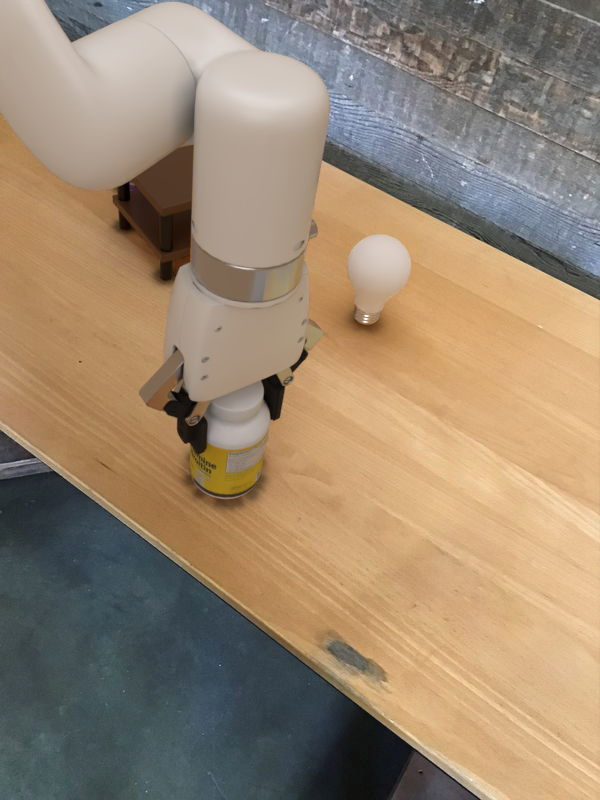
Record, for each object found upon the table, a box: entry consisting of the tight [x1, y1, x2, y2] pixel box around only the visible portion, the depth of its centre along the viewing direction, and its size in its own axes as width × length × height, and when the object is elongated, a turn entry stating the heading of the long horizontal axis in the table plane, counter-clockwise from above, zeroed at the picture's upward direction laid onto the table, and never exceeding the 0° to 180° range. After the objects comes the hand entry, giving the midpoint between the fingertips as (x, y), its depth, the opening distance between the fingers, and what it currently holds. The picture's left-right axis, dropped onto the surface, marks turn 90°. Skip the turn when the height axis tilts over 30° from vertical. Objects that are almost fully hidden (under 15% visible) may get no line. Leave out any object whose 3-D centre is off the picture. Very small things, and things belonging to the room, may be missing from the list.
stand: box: [111, 145, 194, 282], centre depth 86 cm, size 14×12×10 cm
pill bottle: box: [189, 380, 271, 500], centre depth 64 cm, size 6×6×12 cm
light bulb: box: [346, 233, 412, 326], centre depth 80 cm, size 7×7×11 cm
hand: (230, 423), depth 63 cm, fingers closed on pill bottle, 6 cm apart
